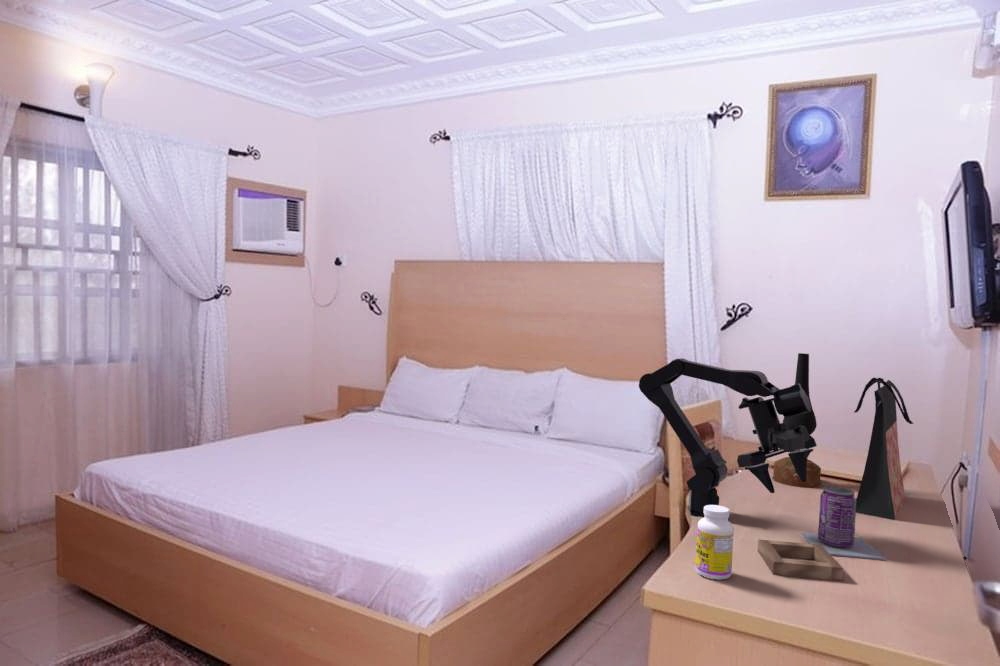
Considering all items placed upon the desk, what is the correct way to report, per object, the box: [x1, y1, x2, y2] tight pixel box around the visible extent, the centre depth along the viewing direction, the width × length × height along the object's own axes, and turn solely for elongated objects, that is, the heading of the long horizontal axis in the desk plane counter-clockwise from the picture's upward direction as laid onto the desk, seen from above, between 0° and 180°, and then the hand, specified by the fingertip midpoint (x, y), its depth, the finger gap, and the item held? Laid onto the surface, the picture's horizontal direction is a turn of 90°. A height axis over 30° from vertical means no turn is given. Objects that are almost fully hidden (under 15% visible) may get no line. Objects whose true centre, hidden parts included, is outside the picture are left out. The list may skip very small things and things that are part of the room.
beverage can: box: [817, 485, 857, 548], centre depth 145 cm, size 7×7×12 cm
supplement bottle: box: [694, 504, 735, 581], centre depth 126 cm, size 7×7×13 cm
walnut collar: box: [757, 538, 844, 582], centre depth 133 cm, size 13×13×2 cm
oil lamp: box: [771, 352, 822, 489], centre depth 204 cm, size 14×15×40 cm
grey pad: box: [800, 531, 886, 561], centre depth 145 cm, size 13×13×1 cm
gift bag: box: [853, 377, 914, 521], centre depth 177 cm, size 29×14×35 cm, turn 144°
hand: (788, 487), depth 154 cm, fingers open, 9 cm apart
